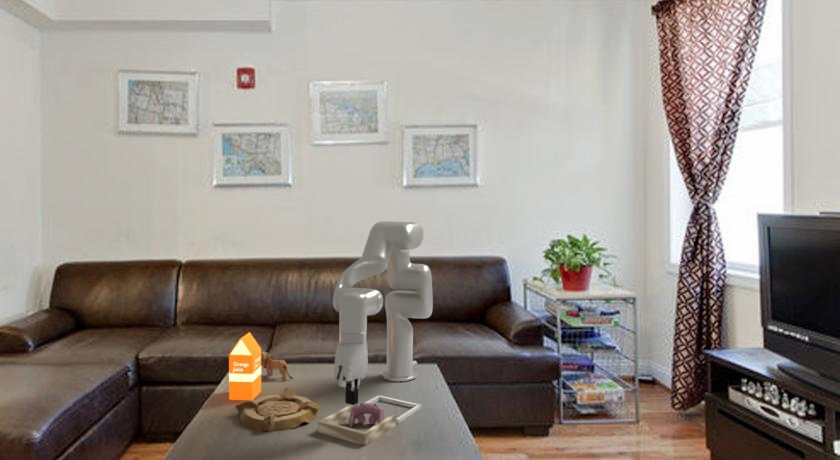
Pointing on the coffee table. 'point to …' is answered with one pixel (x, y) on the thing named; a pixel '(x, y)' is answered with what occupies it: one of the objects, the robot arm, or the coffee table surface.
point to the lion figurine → (274, 365)
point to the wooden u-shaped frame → (352, 435)
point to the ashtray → (277, 412)
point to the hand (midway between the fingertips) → (351, 403)
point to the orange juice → (245, 369)
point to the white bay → (395, 401)
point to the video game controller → (366, 408)
